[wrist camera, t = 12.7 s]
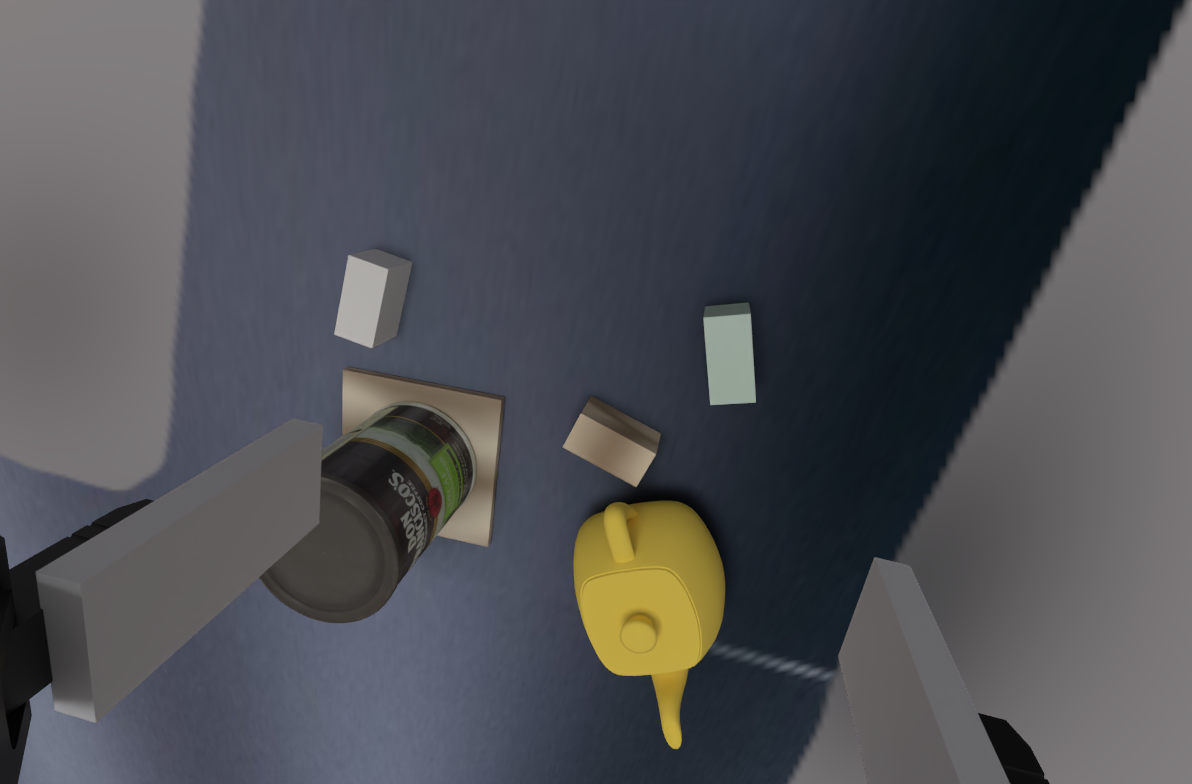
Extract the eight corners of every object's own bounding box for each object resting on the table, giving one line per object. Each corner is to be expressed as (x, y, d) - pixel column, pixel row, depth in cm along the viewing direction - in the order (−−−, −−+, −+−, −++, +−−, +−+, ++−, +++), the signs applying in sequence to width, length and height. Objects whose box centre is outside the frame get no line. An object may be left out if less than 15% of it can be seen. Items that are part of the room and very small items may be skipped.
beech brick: (574, 427, 53) (562, 447, 49) (591, 395, 52) (580, 413, 48) (642, 464, 53) (636, 487, 49) (661, 433, 52) (656, 454, 48)
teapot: (748, 645, 56) (753, 750, 46) (619, 660, 59) (598, 762, 48) (697, 445, 51) (690, 512, 41) (560, 471, 54) (522, 541, 44)
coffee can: (464, 395, 52) (376, 472, 39) (487, 515, 55) (413, 624, 42) (343, 404, 55) (221, 479, 41) (372, 519, 58) (267, 624, 44)
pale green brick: (705, 306, 48) (703, 317, 44) (748, 302, 47) (750, 313, 44) (711, 387, 50) (710, 405, 46) (753, 384, 49) (756, 402, 45)
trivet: (348, 367, 54) (342, 369, 54) (504, 397, 53) (501, 400, 52) (346, 509, 59) (341, 514, 58) (490, 541, 57) (487, 546, 56)
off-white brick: (376, 248, 51) (348, 255, 47) (413, 261, 51) (388, 269, 47) (361, 322, 53) (334, 334, 49) (397, 335, 53) (372, 348, 49)
